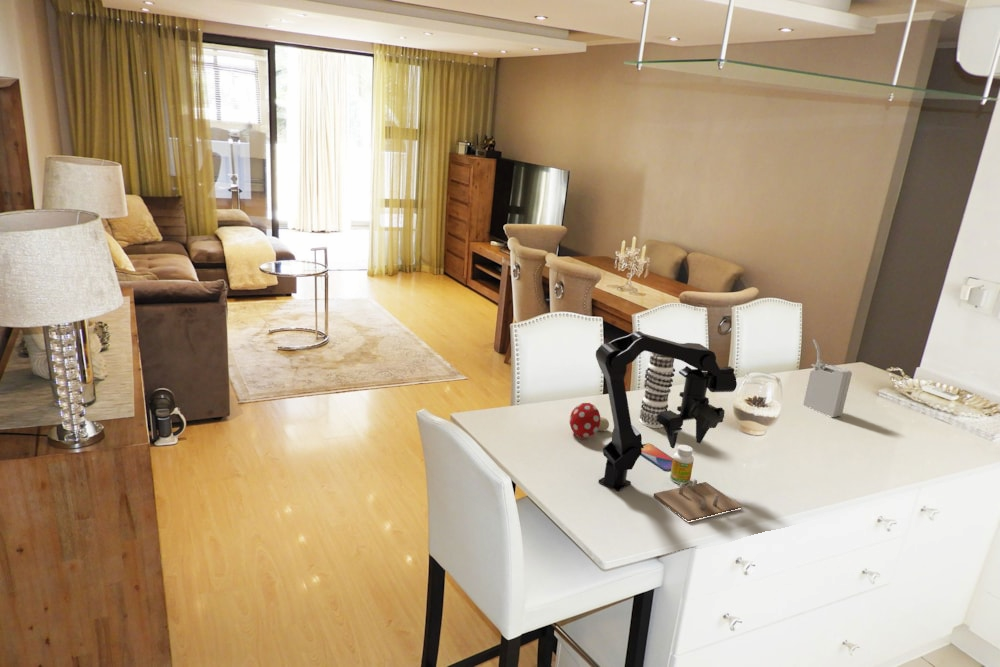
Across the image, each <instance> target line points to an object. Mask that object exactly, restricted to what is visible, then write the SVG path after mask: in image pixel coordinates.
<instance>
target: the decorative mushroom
mask: <svg viewBox="0 0 1000 667" xmlns="http://www.w3.org/2000/svg"><path fill="white" fill-rule="evenodd" d="M599 411H600V410H599V409H598V408H597V406H596V405H595V404H592V403H590V402H581V403H580V404H578V405H576V407H574V409H572V411H571V412H570V415H569V426H570V429H571V431H572V433H573V434H574V435H575V436H576V435H577V436H576V437H578V438H580V439H589V438H591V437H593V436H594V435H595V434H596V433H597V431H599V432H605V431H607V430H608V429H609V426H610V423H609V422H610V421H609V420H608V419H607V418H606V417H603V416H601V413H600V412H599Z"/></svg>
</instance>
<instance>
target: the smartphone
mask: <svg viewBox="0 0 1000 667" xmlns="http://www.w3.org/2000/svg"><path fill="white" fill-rule="evenodd" d="M642 445H643V447H644V448H641V449H642V453H641V455H640V456H641V457H642V458H644V459H645V460H647V461H648V462H650V463H651V464H653V465H654V466H656V467H657V468H659V469H661V470H662V471H663V472H669V471H670V472H671V468H672V462H673V457H671V455H668V453H666V452H664V450H663V451H662V450H661V449H660V448H658V447H656V446H655V445H653V444H651V443H649V442H648V443H642Z"/></svg>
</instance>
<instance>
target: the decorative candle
mask: <svg viewBox="0 0 1000 667" xmlns="http://www.w3.org/2000/svg"><path fill="white" fill-rule="evenodd" d="M649 356H650V358H649V361H648V366H647V368H646V369H645V374H644V378H645V380H644V384H643V389H644V395H643V399H642V400H641V407H640V410H639V411H640V412H639V413H640V414H639V419H638V420H639V421H640V422H639V423H640V424H641V425H643V426H645V427H649V428H653V429H661V428H664V426H663V425H662V424H660V423H659V422H657V415H658V413H659V412H662V411H668V408H669V404H668V403H669V394H670V393H671V392H672V390H671V387H673V384H672V383H673V382H674V380H673V377H675V373H674V372H676V369H675V368H674V363H675V359H674V358H671V357H667V356H663V355H659V354H656V353H652V352H649Z"/></svg>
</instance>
